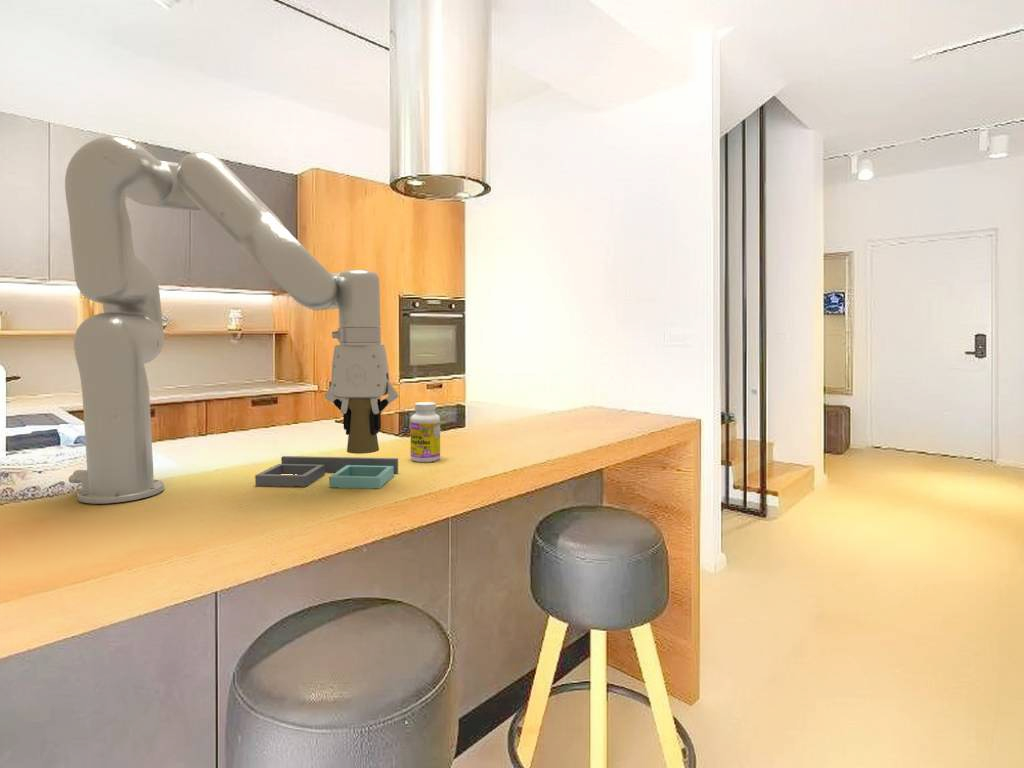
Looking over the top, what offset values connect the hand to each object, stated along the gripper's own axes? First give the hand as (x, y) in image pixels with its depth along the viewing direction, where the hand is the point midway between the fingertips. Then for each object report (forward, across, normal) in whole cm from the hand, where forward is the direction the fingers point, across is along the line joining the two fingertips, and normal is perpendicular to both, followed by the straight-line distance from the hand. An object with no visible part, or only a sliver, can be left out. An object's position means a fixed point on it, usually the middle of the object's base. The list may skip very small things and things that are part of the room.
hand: (362, 432), depth 110 cm
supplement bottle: (+10, +8, +20) cm, 24 cm away
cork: (+4, 0, 0) cm, 4 cm away
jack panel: (+9, -7, +1) cm, 12 cm away
